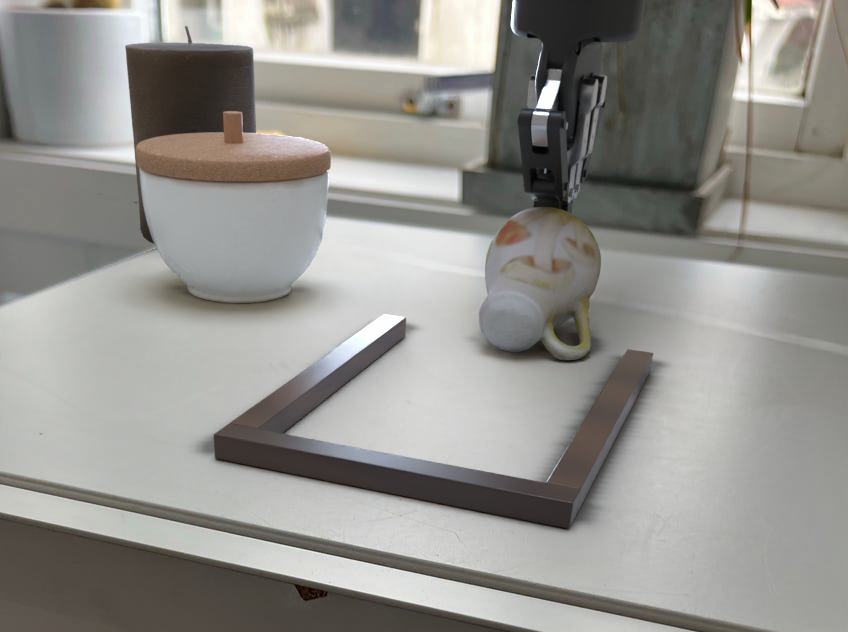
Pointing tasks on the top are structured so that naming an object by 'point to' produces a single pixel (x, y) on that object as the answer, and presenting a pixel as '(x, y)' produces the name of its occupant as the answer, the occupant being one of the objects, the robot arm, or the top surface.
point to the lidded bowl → (235, 208)
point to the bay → (468, 488)
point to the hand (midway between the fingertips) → (546, 260)
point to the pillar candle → (187, 91)
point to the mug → (540, 282)
